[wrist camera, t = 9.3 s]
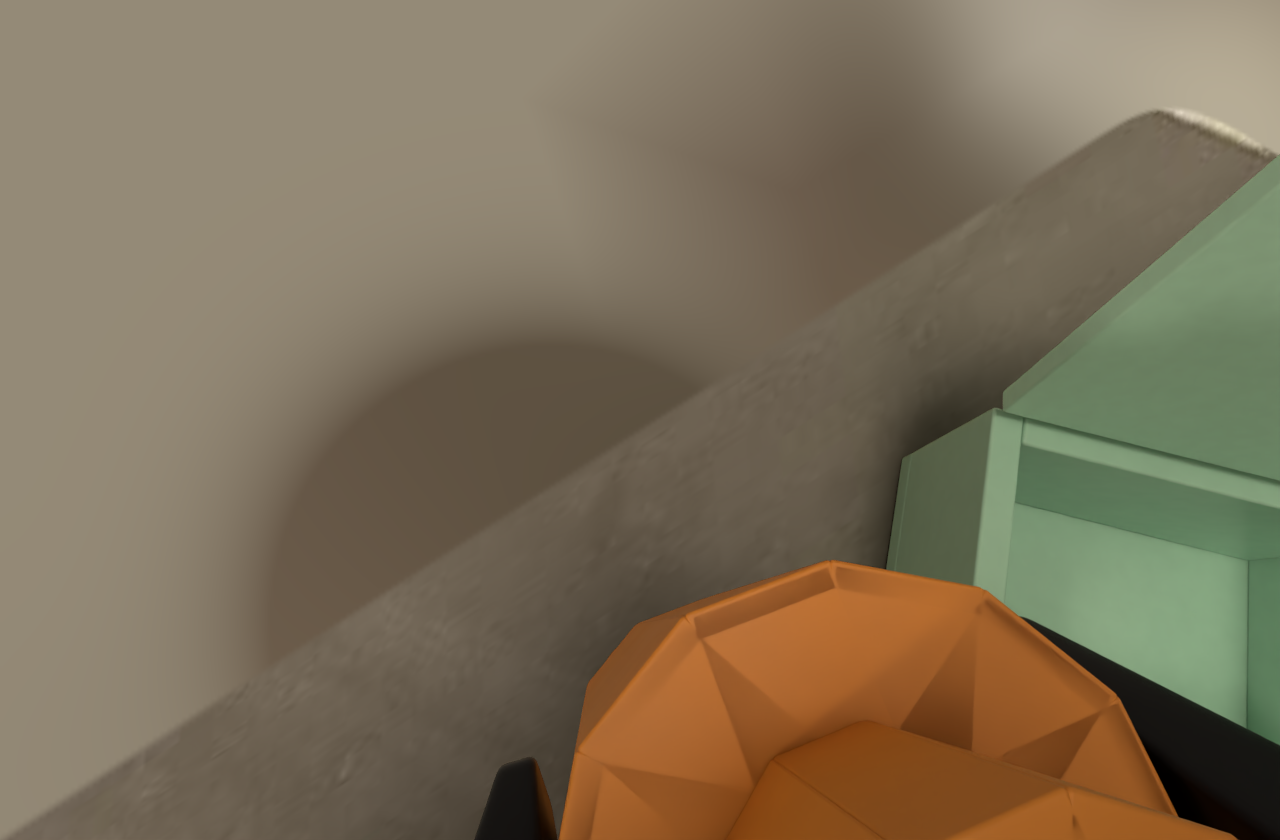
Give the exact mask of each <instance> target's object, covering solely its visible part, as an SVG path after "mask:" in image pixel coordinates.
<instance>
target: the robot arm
mask: <svg viewBox="0 0 1280 840" xmlns="http://www.w3.org/2000/svg"><path fill="white" fill-rule="evenodd" d="M1020 617H1021V618H1022V619H1023V620H1025V621H1026V622H1027V623H1028V624H1030V625H1031V626H1032V627H1033V628H1035V629H1036V630H1037V631H1038V632H1040V633H1041V634H1042V635H1043V636H1045V637H1046V638H1047V639H1048V640H1050V641H1051V642H1052V643H1053V644H1055V645H1056V646H1057V647H1058V648H1060V649H1061V650H1062V651H1063V652H1065V653H1066V654H1067V655H1068V656H1070V657H1071V658H1072V659H1073V660H1075V661H1076V662H1077V663H1078V664H1080V665H1081V666H1082V667H1083V668H1085V669H1086V670H1087V671H1088V672H1090V673H1091V674H1092V675H1093V676H1095V677H1096V678H1097V679H1098V680H1100V681H1101V682H1102V683H1103V684H1105V685H1106V686H1107V687H1108V688H1110V689H1111V690H1112V691H1113V692H1114V693H1115V694H1116V695H1117V697H1119V699H1120V700H1121V702H1122V704H1123V706H1124V708H1125V710H1126V712H1127V714H1128V716H1129V718H1130V720H1131V722H1132V724H1133V726H1134V728H1135V730H1136V732H1137V734H1138V736H1139V738H1140V740H1141V742H1142V744H1143V746H1144V748H1145V750H1146V752H1147V754H1148V756H1149V758H1150V760H1151V762H1152V764H1153V766H1154V768H1155V770H1156V772H1157V774H1158V776H1159V778H1160V780H1161V782H1162V784H1163V786H1164V788H1165V790H1166V792H1167V794H1168V797H1169V799H1170V801H1171V803H1172V805H1173V807H1174V809H1175V811H1176V813H1177V815H1178V817H1179V818H1183V819H1186V820H1189V821H1192V822H1195V823H1198V824H1201V825H1205V826H1208V827H1211V828H1214V829H1217V830H1220V831H1223V832H1227V833H1230V834H1232V835H1233V836H1234V837H1235V838H1237V839H1238V840H1280V745H1278V744H1276V743H1274V742H1272V741H1270V740H1268V739H1266V738H1264V737H1263V736H1261V735H1259V734H1257V733H1255V732H1253V731H1251V730H1249V729H1247V728H1245V727H1243V726H1241V725H1239V724H1237V723H1235V722H1233V721H1231V720H1229V719H1227V718H1225V717H1223V716H1221V715H1219V714H1217V713H1215V712H1213V711H1211V710H1209V709H1207V708H1205V707H1203V706H1201V705H1199V704H1197V703H1195V702H1193V701H1191V700H1189V699H1187V698H1185V697H1183V696H1181V695H1179V694H1177V693H1175V692H1173V691H1171V690H1169V689H1167V688H1165V687H1163V686H1161V685H1159V684H1157V683H1156V682H1154V681H1152V680H1150V679H1148V678H1146V677H1144V676H1142V675H1140V674H1138V673H1136V672H1134V671H1132V670H1130V669H1128V668H1126V667H1124V666H1122V665H1120V664H1118V663H1116V662H1114V661H1112V660H1110V659H1108V658H1106V657H1104V656H1102V655H1100V654H1098V653H1096V652H1094V651H1092V650H1090V649H1088V648H1086V647H1084V646H1082V645H1080V644H1078V643H1076V642H1074V641H1072V640H1070V639H1068V638H1066V637H1064V636H1062V635H1060V634H1058V633H1056V632H1054V631H1052V630H1051V629H1049V628H1047V627H1045V626H1043V625H1041V624H1039V623H1037V622H1035V621H1033V620H1031V619H1028V618H1026V617H1022V616H1020ZM474 840H557V834H556V828H555V822H554V817H553V812H552V807H551V803H550V799H549V796H548V793H547V790H546V787H545V784H544V781H543V778H542V775H541V772H540V769H539V766H538V764H537V761H536V760H535V759H534V758H532V757H527V758H524V759H521V760H517V761H514V762H510V763H507V764H504V765H502V766H501V767H500V768H499V770H498V772H497V774H496V777H495V780H494V783H493V786H492V789H491V792H490V795H489V798H488V801H487V804H486V807H485V810H484V813H483V816H482V819H481V822H480V824H479V827H478V830H477V833H476V836H475V839H474Z"/></svg>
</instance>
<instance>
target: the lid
mask: <svg viewBox="0 0 1280 840" xmlns="http://www.w3.org/2000/svg"><path fill="white" fill-rule="evenodd" d="M1003 411H1004V412H1007V413H1011V414H1015V415H1019V416H1023V417H1027V418H1031V419H1035V420H1039V421H1043V422H1047V423H1051V424H1055V425H1059V426H1063V427H1067V428H1071V429H1075V430H1079V431H1083V432H1087V433H1091V434H1095V435H1099V436H1103V437H1107V438H1111V439H1115V440H1119V441H1123V442H1127V443H1131V444H1135V445H1139V446H1143V447H1147V448H1151V449H1155V450H1159V451H1163V452H1167V453H1171V454H1175V455H1179V456H1183V457H1187V458H1191V459H1195V460H1199V461H1203V462H1207V463H1211V464H1215V465H1219V466H1223V467H1227V468H1231V469H1235V470H1239V471H1243V472H1247V473H1251V474H1255V475H1259V476H1263V477H1267V478H1271V479H1275V480H1279V481H1280V155H1278V156H1277V157H1276V158H1275V159H1274V160H1273V161H1271V162H1270V163H1269V164H1268V165H1267V166H1266V167H1264V168H1263V169H1262V170H1261V171H1260V172H1259V173H1257V174H1256V175H1255V176H1254V177H1253V178H1252V179H1250V180H1249V181H1248V182H1247V183H1246V184H1245V185H1243V186H1242V187H1241V188H1240V189H1239V190H1238V191H1236V192H1235V193H1234V194H1233V195H1232V196H1231V197H1229V198H1228V199H1227V200H1226V201H1225V202H1224V203H1222V204H1221V205H1220V206H1219V207H1218V208H1217V209H1215V210H1214V211H1213V212H1212V213H1211V214H1210V215H1209V216H1207V217H1206V218H1205V219H1204V220H1203V221H1202V222H1200V223H1199V224H1198V225H1197V226H1196V227H1195V228H1193V229H1192V230H1191V231H1190V232H1189V233H1188V234H1186V235H1185V236H1184V237H1183V238H1182V239H1181V240H1179V241H1178V242H1177V243H1176V244H1175V245H1174V246H1172V247H1171V248H1170V249H1169V250H1168V251H1167V252H1165V253H1164V254H1163V255H1162V256H1161V257H1160V258H1158V259H1157V260H1156V261H1155V262H1154V263H1153V264H1151V265H1150V266H1149V267H1148V268H1147V269H1146V270H1144V271H1143V272H1142V273H1141V274H1140V275H1139V276H1137V277H1136V278H1135V279H1134V280H1133V281H1132V282H1130V283H1129V284H1128V285H1127V286H1126V287H1125V288H1123V289H1122V290H1121V291H1120V292H1119V293H1118V294H1116V295H1115V296H1114V297H1113V298H1112V299H1111V300H1109V301H1108V302H1107V303H1106V304H1105V305H1104V306H1102V307H1101V308H1100V309H1099V310H1098V311H1097V312H1095V313H1094V314H1093V315H1092V316H1091V317H1090V318H1088V319H1087V320H1086V321H1085V322H1084V323H1083V324H1081V325H1080V326H1079V327H1078V328H1077V329H1076V330H1074V331H1073V332H1072V333H1071V334H1070V335H1069V336H1067V337H1066V338H1065V339H1064V340H1063V341H1062V342H1061V343H1059V344H1058V345H1057V346H1056V347H1055V348H1054V349H1052V350H1051V351H1050V352H1049V353H1048V354H1047V355H1045V356H1044V357H1043V358H1042V359H1041V360H1040V361H1038V362H1037V363H1036V364H1035V365H1034V366H1033V367H1031V368H1030V369H1029V370H1028V371H1027V372H1026V373H1024V374H1023V375H1022V376H1021V377H1020V378H1019V379H1017V380H1016V381H1015V382H1014V383H1013V384H1012V385H1010V386H1009V387H1008V388H1007V389H1006V390H1005V391H1004V392H1003Z"/></svg>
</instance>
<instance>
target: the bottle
mask: <svg viewBox="0 0 1280 840" xmlns="http://www.w3.org/2000/svg"><path fill="white" fill-rule="evenodd" d="M559 840H1238V839H1237V838H1235V837H1234V836H1233V835H1232V834H1230V833H1227V832H1223V831H1220V830H1217V829H1214V828H1211V827H1208V826H1205V825H1201V824H1198V823H1195V822H1192V821H1189V820H1186V819H1183V818H1179V817H1178V815H1177V813H1176V811H1175V809H1174V807H1173V805H1172V803H1171V801H1170V799H1169V797H1168V794H1167V792H1166V790H1165V788H1164V786H1163V784H1162V782H1161V780H1160V778H1159V776H1158V774H1157V772H1156V770H1155V768H1154V766H1153V764H1152V762H1151V760H1150V758H1149V756H1148V754H1147V752H1146V750H1145V748H1144V746H1143V744H1142V742H1141V740H1140V738H1139V736H1138V734H1137V732H1136V730H1135V728H1134V726H1133V724H1132V722H1131V720H1130V718H1129V716H1128V714H1127V712H1126V710H1125V708H1124V706H1123V704H1122V702H1121V700H1120V699H1119V697H1117V695H1116V694H1115V693H1114V692H1113V691H1112V690H1111V689H1110V688H1108V687H1107V686H1106V685H1105V684H1103V683H1102V682H1101V681H1100V680H1098V679H1097V678H1096V677H1095V676H1093V675H1092V674H1091V673H1090V672H1088V671H1087V670H1086V669H1085V668H1083V667H1082V666H1081V665H1080V664H1078V663H1077V662H1076V661H1075V660H1073V659H1072V658H1071V657H1070V656H1068V655H1067V654H1066V653H1065V652H1063V651H1062V650H1061V649H1060V648H1058V647H1057V646H1056V645H1055V644H1053V643H1052V642H1051V641H1050V640H1048V639H1047V638H1046V637H1045V636H1043V635H1042V634H1041V633H1040V632H1038V631H1037V630H1036V629H1035V628H1033V627H1032V626H1031V625H1030V624H1028V623H1027V622H1026V621H1025V620H1023V619H1022V618H1021V617H1020V616H1018V615H1017V614H1016V613H1015V612H1013V611H1012V610H1011V609H1010V608H1008V607H1007V606H1006V605H1005V604H1003V603H1002V602H1001V601H1000V600H998V599H997V598H996V597H995V596H993V595H992V594H991V593H990V592H988V591H987V590H983V589H982V588H980V587H977V586H971V585H966V584H961V583H955V582H950V581H945V580H939V579H934V578H928V577H923V576H918V575H912V574H907V573H902V572H896V571H891V570H885V569H880V568H875V567H869V566H864V565H859V564H853V563H848V562H842V561H837V560H830V561H827V560H826V561H823V562H819V563H816V564H813V565H810V566H807V567H803V568H800V569H797V570H794V571H790V572H787V573H784V574H781V575H778V576H774V577H771V578H768V579H765V580H762V581H758V582H755V583H752V584H749V585H746V586H742V587H739V588H736V589H733V590H730V591H726V592H723V593H720V594H717V595H714V596H710V597H707V598H704V599H701V600H698V601H696V602H693V603H690V604H688V605H685V606H682V607H680V608H677V609H674V610H672V611H669V612H666V613H664V614H661V615H658V616H656V617H653V618H650V619H648V620H645V621H642V622H640V623H638V624H637V625H635V626H634V627H633V628H632V630H631V631H630V632H629V633H628V634H627V636H626V637H625V638H624V639H623V641H622V642H621V643H620V644H619V646H618V647H617V648H616V649H615V650H614V651H613V652H612V653H611V655H610V656H609V657H608V659H607V660H606V662H605V663H604V664H603V665H602V666H601V668H600V669H599V670H598V671H597V673H596V674H595V675H594V676H593V678H592V679H591V680H590V681H589V683H588V685H587V689H586V694H585V699H584V705H583V710H582V715H581V721H580V726H579V731H578V737H577V742H576V747H575V753H574V758H573V763H572V769H571V774H570V780H569V785H568V791H567V796H566V802H565V807H564V812H563V818H562V823H561V829H560V834H559Z"/></svg>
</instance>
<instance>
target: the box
mask: <svg viewBox="0 0 1280 840" xmlns="http://www.w3.org/2000/svg"><path fill="white" fill-rule="evenodd" d="M886 570H891V571H896V572H902V573H907V574H912V575H918V576H923V577H928V578H934V579H939V580H945V581H950V582H955V583H961V584H966V585H971V586H977V587H980V588H982V589H983V590H987V591H988V592H990V593H991V594H992V595H993V596H995V597H996V598H997V599H998V600H1000V601H1001V602H1002V603H1003V604H1005V605H1006V606H1007V607H1008V608H1010V609H1011V610H1012V611H1013V612H1015V613H1016V614H1017V615H1018V616H1022V617H1026V618H1028V619H1031V620H1033V621H1035V622H1037V623H1039V624H1041V625H1043V626H1045V627H1047V628H1049V629H1051V630H1052V631H1054V632H1056V633H1058V634H1060V635H1062V636H1064V637H1066V638H1068V639H1070V640H1072V641H1074V642H1076V643H1078V644H1080V645H1082V646H1084V647H1086V648H1088V649H1090V650H1092V651H1094V652H1096V653H1098V654H1100V655H1102V656H1104V657H1106V658H1108V659H1110V660H1112V661H1114V662H1116V663H1118V664H1120V665H1122V666H1124V667H1126V668H1128V669H1130V670H1132V671H1134V672H1136V673H1138V674H1140V675H1142V676H1144V677H1146V678H1148V679H1150V680H1152V681H1154V682H1156V683H1157V684H1159V685H1161V686H1163V687H1165V688H1167V689H1169V690H1171V691H1173V692H1175V693H1177V694H1179V695H1181V696H1183V697H1185V698H1187V699H1189V700H1191V701H1193V702H1195V703H1197V704H1199V705H1201V706H1203V707H1205V708H1207V709H1209V710H1211V711H1213V712H1215V713H1217V714H1219V715H1221V716H1223V717H1225V718H1227V719H1229V720H1231V721H1233V722H1235V723H1237V724H1239V725H1241V726H1243V727H1245V728H1247V729H1249V730H1251V731H1253V732H1255V733H1257V734H1259V735H1261V736H1263V737H1264V738H1266V739H1268V740H1270V741H1272V742H1274V743H1276V744H1278V745H1280V481H1279V480H1275V479H1271V478H1267V477H1263V476H1259V475H1255V474H1251V473H1247V472H1243V471H1239V470H1235V469H1231V468H1227V467H1223V466H1219V465H1215V464H1211V463H1207V462H1203V461H1199V460H1195V459H1191V458H1187V457H1183V456H1179V455H1175V454H1171V453H1167V452H1163V451H1159V450H1155V449H1151V448H1147V447H1143V446H1139V445H1135V444H1131V443H1127V442H1123V441H1119V440H1115V439H1111V438H1107V437H1103V436H1099V435H1095V434H1091V433H1087V432H1083V431H1079V430H1075V429H1071V428H1067V427H1063V426H1059V425H1055V424H1051V423H1047V422H1043V421H1039V420H1035V419H1031V418H1027V417H1023V416H1019V415H1015V414H1011V413H1007V412H1004V411H1003V409H999V408H993V409H991V410H989V411H987V412H985V413H984V414H982V415H980V416H978V417H976V418H975V419H973V420H971V421H969V422H967V423H965V424H964V425H962V426H960V427H958V428H956V429H955V430H953V431H951V432H949V433H947V434H946V435H944V436H942V437H940V438H938V439H937V440H935V441H933V442H931V443H929V444H928V445H926V446H924V447H922V448H920V449H919V450H917V451H915V452H913V453H912V454H909V455H908V456H906V457H904V458H903V459H902V464H901V471H900V478H899V485H898V491H897V498H896V505H895V512H894V519H893V525H892V532H891V539H890V546H889V553H888V560H887V566H886Z"/></svg>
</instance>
